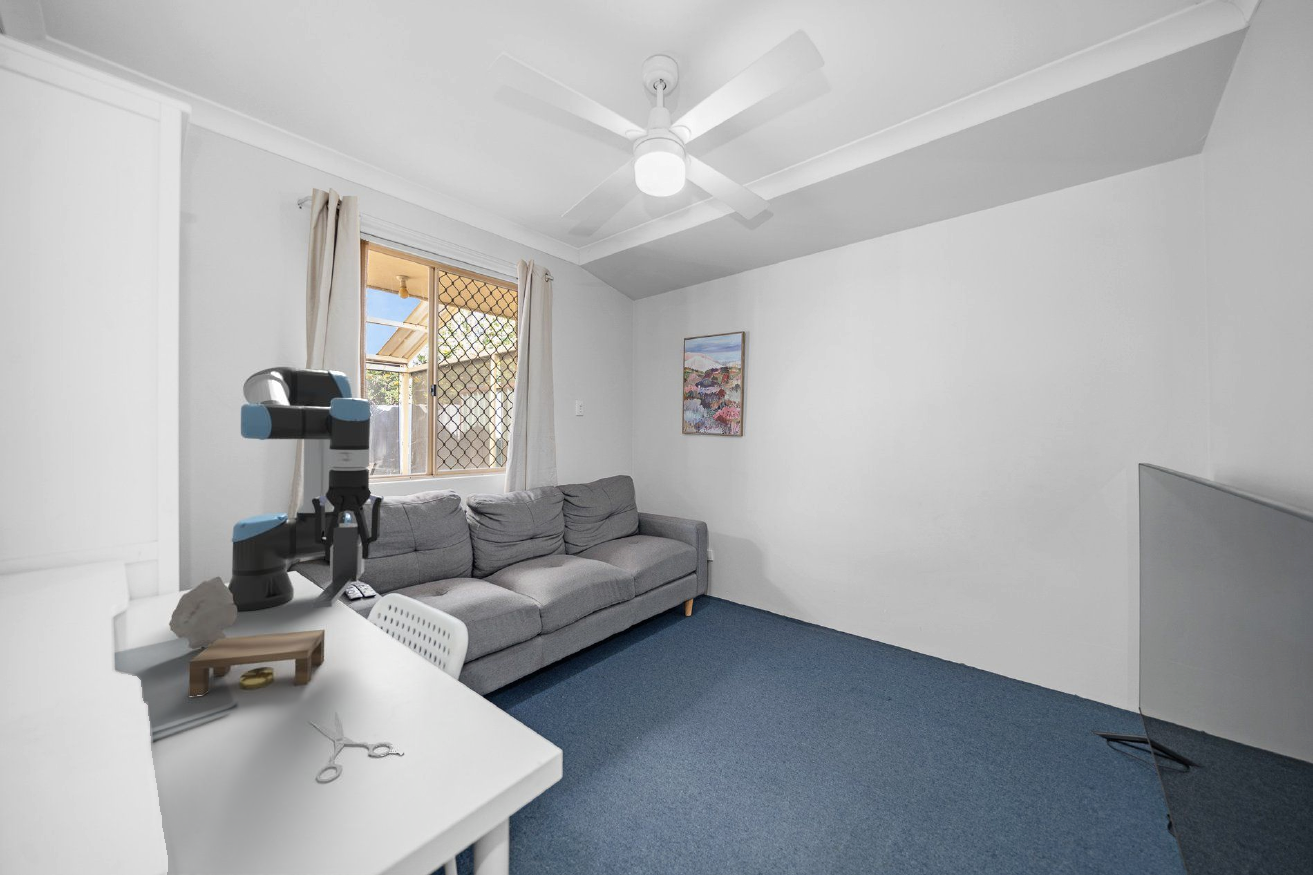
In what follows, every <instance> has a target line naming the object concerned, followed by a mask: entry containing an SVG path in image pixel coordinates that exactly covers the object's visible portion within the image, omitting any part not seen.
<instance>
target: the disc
mask: <svg viewBox="0 0 1313 875" xmlns="http://www.w3.org/2000/svg"><path fill="white" fill-rule="evenodd" d="M274 680H275V669H274V668H273V667H269V666H265V667H257V668H253V669H251V670H248V671H246V672H244V673H242V674H241V675H240V678H239V687H240V688H239V689H241V690H244V691H249V690H257V689H261V688H264V687H267V686H268V685H270V684H271V683H272V682H274Z"/></svg>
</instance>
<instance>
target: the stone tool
mask: <svg viewBox="0 0 1313 875" xmlns="http://www.w3.org/2000/svg"><path fill="white" fill-rule="evenodd" d="M233 604H234V602H233V594H232V593H231V592H230V590H229V589H228V585H227V586H226V585H225V583H224V582H223V580H222V578H221V576H216V577H213V578H211V579H209V580H203V581H202V582H201V583H200V584H198V585H197V586H196V587H195V588H192V589H191V590H189V591H188V592H185V593H184V594H182V596H181V597H180V599H179V600H178V602H177V605H176V607H175V609H174V610H173V612H172V614H171V619H170V621H169V623H168V625H169V629H170V631H171V632H173V633H174V634H175V636H176V637H177V638H179V639H180V638H181V639H182V638H185V639H187V640H188V642H189V643H188V648H189V649H191V650H197V649H199V648H200V647H205V648H207V647H209V646H210V645H211V644H213V643H214V642H215V641H216V640H218V639H220V638H227V634H226V633H225V632H224V631H223V629H224V628H226V627H229V626H231V625H233V624H234V623H235V622H236V620H237V618H238V611H237V607H236V605H233Z"/></svg>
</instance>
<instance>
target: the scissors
mask: <svg viewBox="0 0 1313 875" xmlns="http://www.w3.org/2000/svg"><path fill="white" fill-rule="evenodd" d="M308 722H309V723H310V724H311V725H312V726H313V727H315V728H316V729H317V730H318V731H319V732H320V733H321V734H323V735H324V736H326V737H327V738H328V739H330V740H331V741H332V742H333V743H334V748H335V749H334V753H333V754H332V755H331V756H329V762H328V763H327V764H326V765H325V766H323V767H322V768H320V770H319V771H318V772H317V773H316V776H315V779H316V781H317V782H319V783H322V784H323V783H324V784H325V783H330V782H332V781H334V780H336V779H338V777H340V775H341V774H342V771H343V765H342V764H339V763H336V762H335V759H336V757H337V756H338V755H339V753H340V752H341V751H342V750H343V748H344V747H345V746H346V747H347V746H349V747H364V746H366V747H365V748H367V749H368V748H369V749H368V753H367V755H368V754H369V755H371V756H381V755H385V754H388V753H389V752H392V749H393V748H394V747H395V746H393V747H392V746H391V745H393V743H391V742H388V741H385V742H384V741H383V742H378V743H368V742H366V741H364V742H362V741H361V742H355V741H354V740H352V739H351V738H349V737H345V734H344V730H343V727H342V722H341V721H340V717H339V715H338V713H337V711H335V720H334V725H335V726H334V729H335V730H334V731H335V732H333V731H331V730H329V729H327V728H326V727H323V726H320V725H318V724H316V723H314V722H312V721H309V720H308ZM379 745H388V746H389V747H390V748H389V747H388V746H387V747H388V748H389V749H388V750H387V751H385V752H382V753H381V752H380V753H377V752H375V751H374V750H375V749H376V748H377V747H376V746H379ZM375 747H376V748H375ZM379 747H380V746H379ZM373 749H374V750H373ZM394 749H395V748H394ZM390 750H391V751H390ZM393 752H394V751H393ZM395 752H396V751H395ZM369 755H368V756H369ZM388 755H389V754H388ZM371 756H370V757H371ZM328 769H336V773H335V774H334V775H333V776H331V777H328V778H321V777H320V776H321V775H322V774H323V772H324V771H326V770H328Z"/></svg>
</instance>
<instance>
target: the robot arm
mask: <svg viewBox="0 0 1313 875" xmlns="http://www.w3.org/2000/svg"><path fill="white" fill-rule="evenodd" d="M242 387H243V389H242V390H243V392H242V393H243V396H244V398H245V400H246V402H247V403H246V404H243V405H241V408H240V435H241V436H242V438H244V439H252V440H259V441H264V440H303V487H302V488H303V492H302V494H303V496H302V497H303V498H302V505H301V506H300V507H299V508H297V510H296V517H289V516H288V514H287V513H285V512H274V513H266V514H261V515H256V516H252V517H248V518H245V519H244V518H243V519H242V520H239V521H238V522H236V523H235V524H234V526H233V528H232V538H231V542H232V557H231V558H232V559H231V560H232V562H231V566H232V567H231V570H232V571H231V578H230V581H229V583H228V585H227V588H228V589H229V590H230V592H231V593H232V594H233V602H234V604H233V605H236V607H237V612H239V611H240V612H241V611H243V612H244V611H254V610H262V609H268V608H271V607H274V606H279V605H282V604H284V603H287V602H289V601H290V600H292V599H293V598H294V594H295V593H294V592H295V591H294V590H295V589H294V586H293V583H292V581H291V577H290V575H289V573H288V570H287V561H290V560H298V559H299V560H300V559H305V558H307V559H308V558H316V557H323V556H324V560H325V561H329V578H330V577H332V578H333V528H334V527H336V526H337V525H339V524H341V523H352V522H351V521H352V518H351V514H350V513H347V512H346V511H349V512H353V515H354V517H355V521H356V522H355V523H357V526H359V534H360V538H361V542H362V543H360V544H359V545H358V572H357V575H361V576H362V575H363V573H364V572H365V559H368V558H369V557H370V553H371V547H370V546H371V545H370V544H371V543H374V542H377V540H378V539H379V538H380V531H381V530H380V529H381V528H380V527H381V505H382V504H383V501H384V496H381V495H380V496H378V495H375V494H372V492H371V490H370V488H369V486H370V484H369V480H370V470H369V469H368V467H369V466H370V432H371V429H370V428H371V417H372V413H371V405H370V402H369V400H368V399H365V398H353V396H352V388H351V384H350V380H349V378H348V376H347V375H346V374H345V373H343V372H341V371H336V370H331V369H330V370H329V369H315V368H314V369H313V368H298V367H290V366H277V367H271V368H266V369H263V370H259V371H257V372H254V373H253V374H251V375H250V376H249V377H248V378H247V379H246V380H245V382H244V385H243V386H242ZM368 500H369V501H370V505H372V507H371V508H372V509H371V529H370V531H371V532H369V528H368V524H367V520H366V517H365V510H364V509H365V508H364V505H365V504H366V503H367V502H368Z"/></svg>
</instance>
